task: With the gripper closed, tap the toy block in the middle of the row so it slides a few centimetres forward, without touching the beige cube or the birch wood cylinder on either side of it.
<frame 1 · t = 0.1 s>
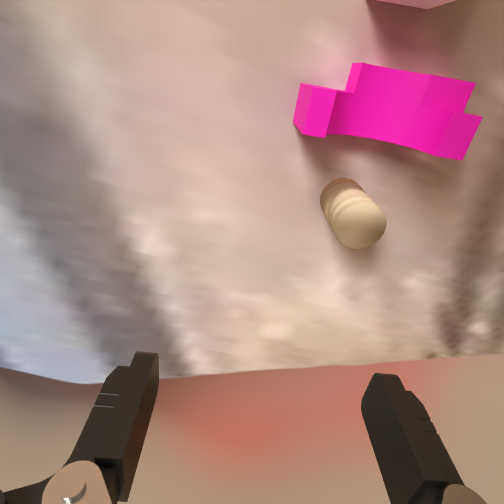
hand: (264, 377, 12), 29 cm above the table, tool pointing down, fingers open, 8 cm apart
toy block: (368, 101, 34), on the table
birch cylinder: (340, 198, 39), on the table
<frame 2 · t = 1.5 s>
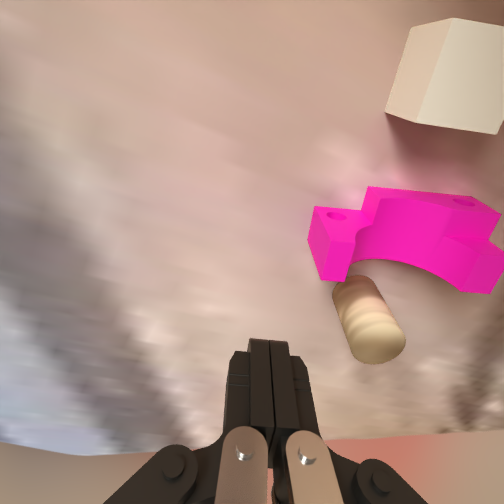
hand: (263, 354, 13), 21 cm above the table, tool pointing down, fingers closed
beige cube: (432, 77, 26), on the table
toy block: (385, 217, 33), on the table
birch cylinder: (354, 293, 37), on the table
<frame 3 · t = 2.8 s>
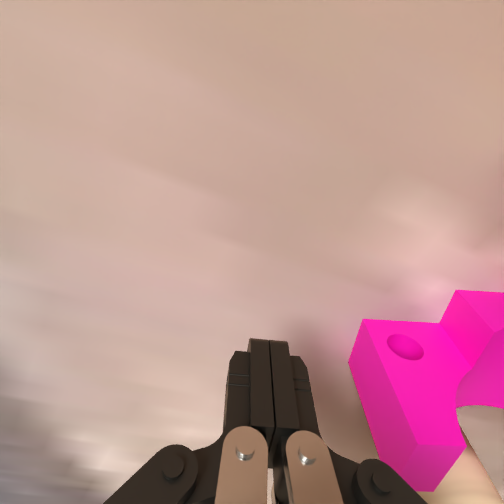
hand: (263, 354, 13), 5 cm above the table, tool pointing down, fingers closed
toy block: (476, 328, 20), on the table
birch cylinder: (413, 415, 24), on the table
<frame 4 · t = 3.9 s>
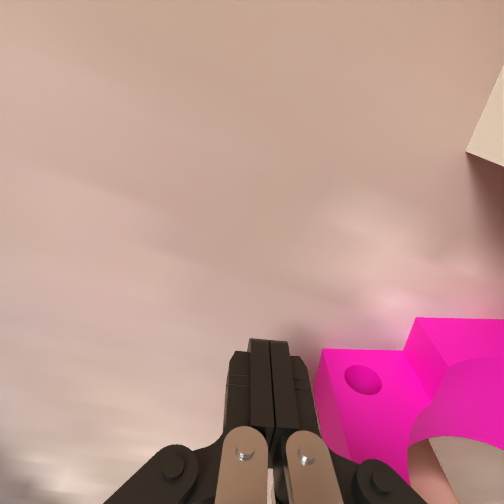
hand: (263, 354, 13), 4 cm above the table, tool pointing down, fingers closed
toy block: (444, 354, 19), on the table
birch cylinder: (384, 433, 23), on the table
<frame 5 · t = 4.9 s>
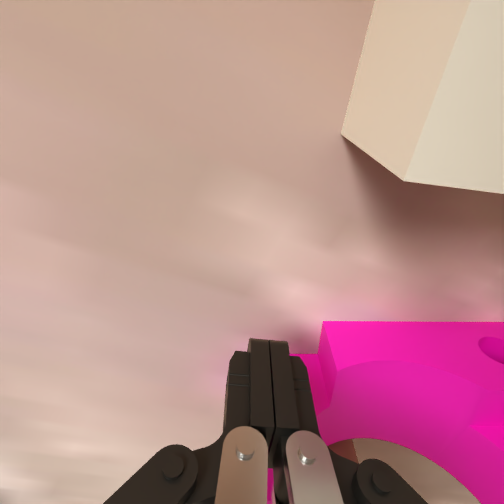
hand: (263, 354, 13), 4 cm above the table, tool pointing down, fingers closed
beige cube: (445, 56, 12), on the table
toy block: (362, 356, 19), on the table
birch cylinder: (310, 427, 22), on the table
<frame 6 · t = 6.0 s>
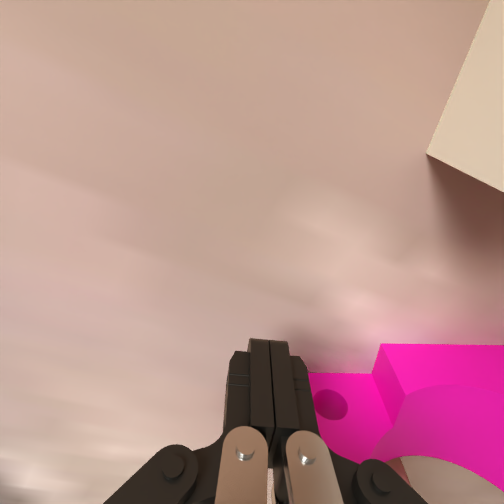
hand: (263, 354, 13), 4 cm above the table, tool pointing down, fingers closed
toy block: (412, 375, 20), on the table
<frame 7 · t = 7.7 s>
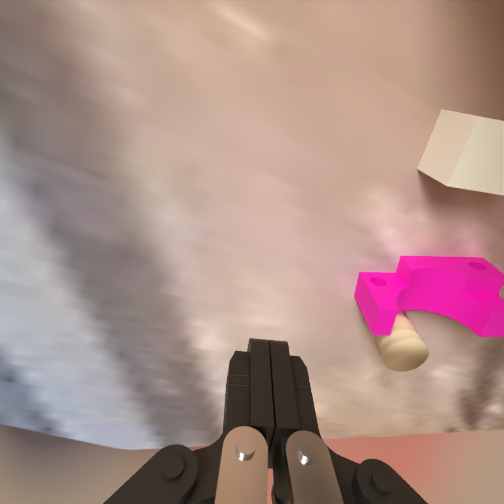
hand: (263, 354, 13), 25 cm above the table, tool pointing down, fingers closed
beige cube: (455, 145, 34), on the table
toy block: (414, 275, 42), on the table
birch cylinder: (381, 311, 44), on the table
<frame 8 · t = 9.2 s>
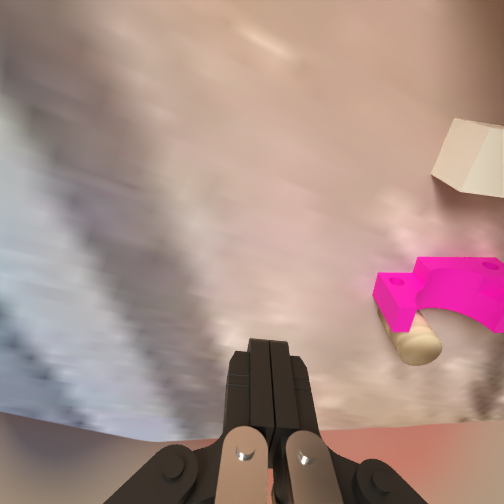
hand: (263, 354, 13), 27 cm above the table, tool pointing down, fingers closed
beige cube: (467, 150, 36), on the table
toy block: (430, 275, 44), on the table, touching birch cylinder
birch cylinder: (395, 309, 47), on the table, touching toy block
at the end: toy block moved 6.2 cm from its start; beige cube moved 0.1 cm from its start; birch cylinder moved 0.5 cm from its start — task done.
